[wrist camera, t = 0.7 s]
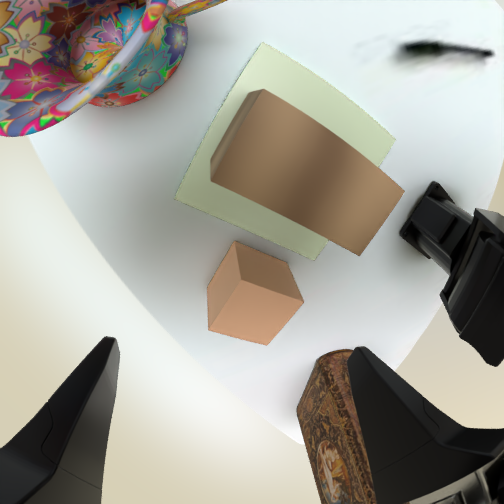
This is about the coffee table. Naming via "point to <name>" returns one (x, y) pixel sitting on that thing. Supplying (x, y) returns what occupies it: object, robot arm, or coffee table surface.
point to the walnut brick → (303, 172)
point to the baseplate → (308, 101)
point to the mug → (84, 55)
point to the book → (335, 434)
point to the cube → (251, 295)
